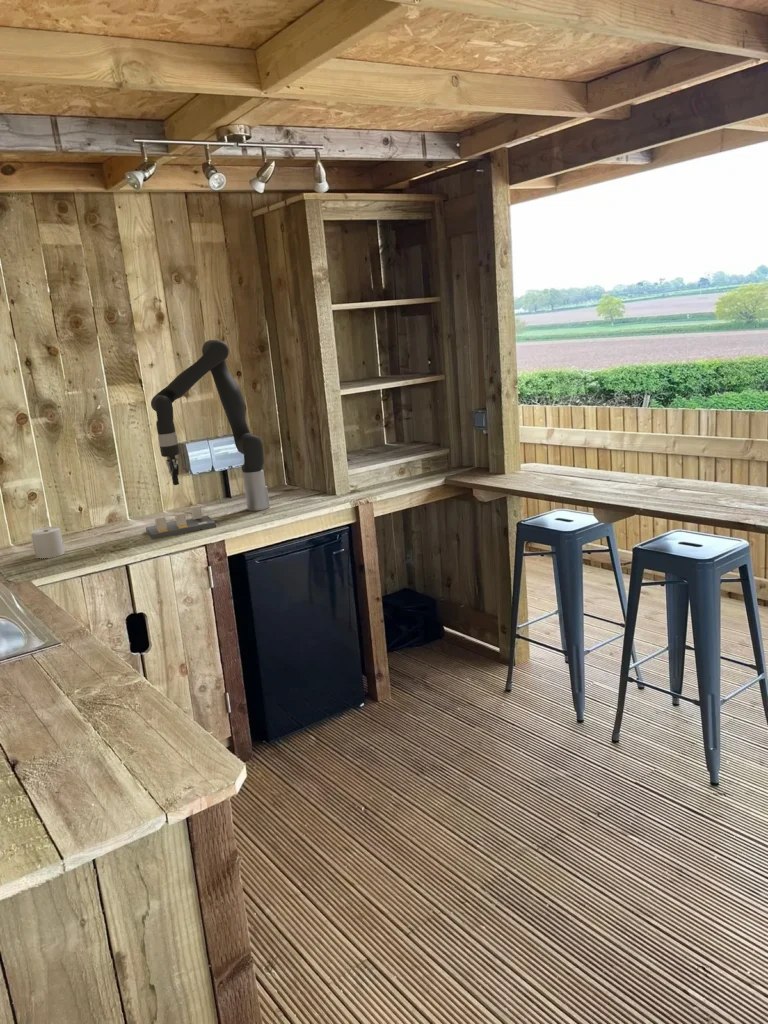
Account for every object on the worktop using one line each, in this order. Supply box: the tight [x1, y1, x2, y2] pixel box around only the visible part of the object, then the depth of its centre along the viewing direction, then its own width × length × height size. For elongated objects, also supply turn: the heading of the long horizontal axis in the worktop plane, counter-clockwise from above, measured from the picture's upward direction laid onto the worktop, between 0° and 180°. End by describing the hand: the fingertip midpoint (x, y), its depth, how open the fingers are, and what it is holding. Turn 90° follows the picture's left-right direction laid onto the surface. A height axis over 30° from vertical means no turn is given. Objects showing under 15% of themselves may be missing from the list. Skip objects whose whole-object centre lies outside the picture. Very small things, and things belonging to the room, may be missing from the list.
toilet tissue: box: [30, 525, 66, 560], centre depth 303 cm, size 11×12×10 cm
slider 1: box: [154, 515, 167, 531], centre depth 316 cm, size 4×3×5 cm
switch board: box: [145, 515, 217, 540], centre depth 323 cm, size 26×14×2 cm, turn 115°
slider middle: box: [174, 511, 187, 527], centre depth 319 cm, size 4×3×5 cm
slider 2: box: [190, 504, 203, 520], centre depth 329 cm, size 4×3×5 cm
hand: (176, 484), depth 325 cm, fingers closed
